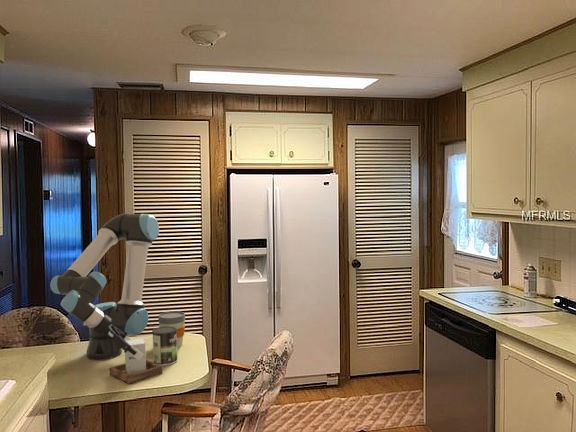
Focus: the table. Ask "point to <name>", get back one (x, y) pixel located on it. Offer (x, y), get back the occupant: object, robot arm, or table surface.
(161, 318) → the reusable coffee cup
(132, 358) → the supplement box
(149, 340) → the table surface
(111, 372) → the walnut tray
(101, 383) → the table surface
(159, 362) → the coffee can
